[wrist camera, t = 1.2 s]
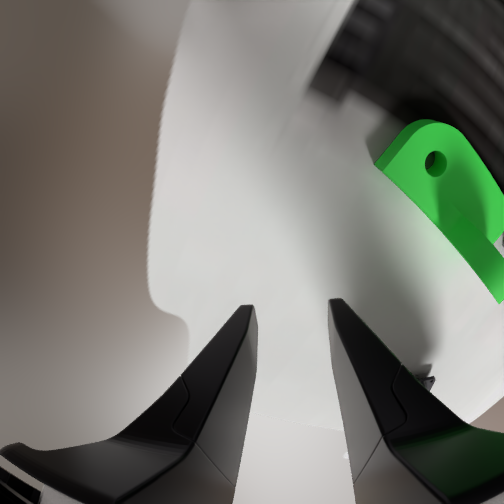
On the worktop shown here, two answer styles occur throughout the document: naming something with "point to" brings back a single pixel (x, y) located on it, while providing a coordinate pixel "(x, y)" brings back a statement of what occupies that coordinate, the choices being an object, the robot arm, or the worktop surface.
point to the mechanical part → (451, 193)
